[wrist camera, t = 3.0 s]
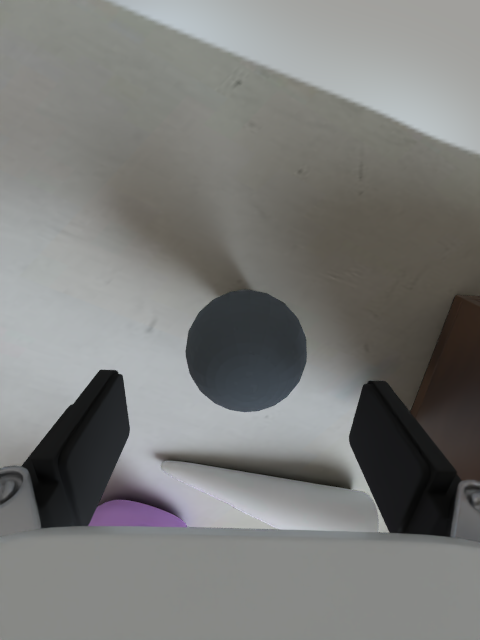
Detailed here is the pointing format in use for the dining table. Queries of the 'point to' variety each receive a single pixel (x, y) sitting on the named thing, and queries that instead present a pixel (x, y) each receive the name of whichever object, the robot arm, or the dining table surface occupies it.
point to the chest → (455, 389)
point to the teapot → (133, 515)
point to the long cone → (281, 498)
